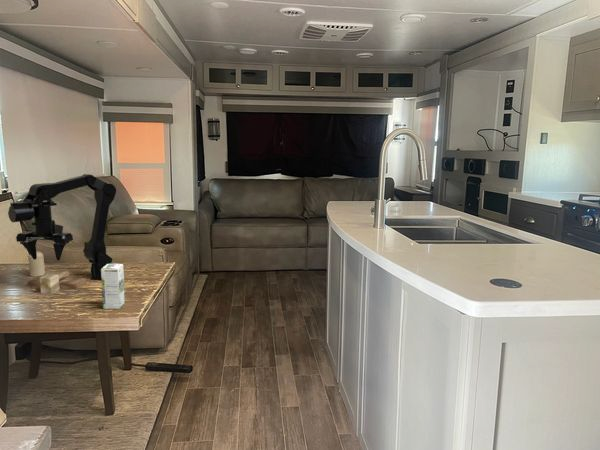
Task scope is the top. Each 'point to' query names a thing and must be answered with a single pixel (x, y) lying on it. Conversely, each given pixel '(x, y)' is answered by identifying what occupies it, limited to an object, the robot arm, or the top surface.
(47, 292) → the gauge
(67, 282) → the board
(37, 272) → the candle
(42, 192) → the robot arm
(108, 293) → the syrup box
